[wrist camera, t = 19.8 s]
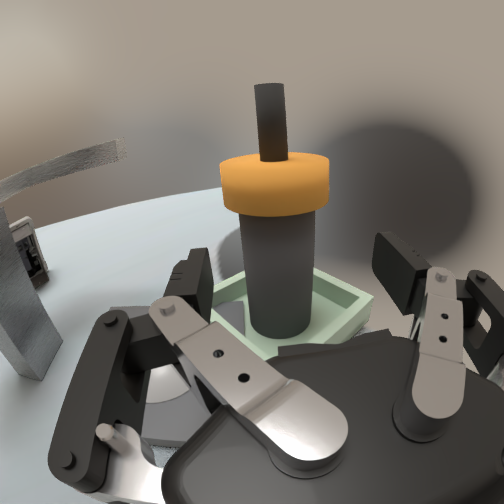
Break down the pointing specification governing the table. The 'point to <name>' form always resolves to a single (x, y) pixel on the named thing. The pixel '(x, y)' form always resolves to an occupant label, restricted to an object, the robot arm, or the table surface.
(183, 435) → the socket plate
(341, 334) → the tray
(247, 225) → the plug
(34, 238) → the electrical switch
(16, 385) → the table surface
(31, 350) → the clip post
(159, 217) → the table surface
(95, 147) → the clip bar
